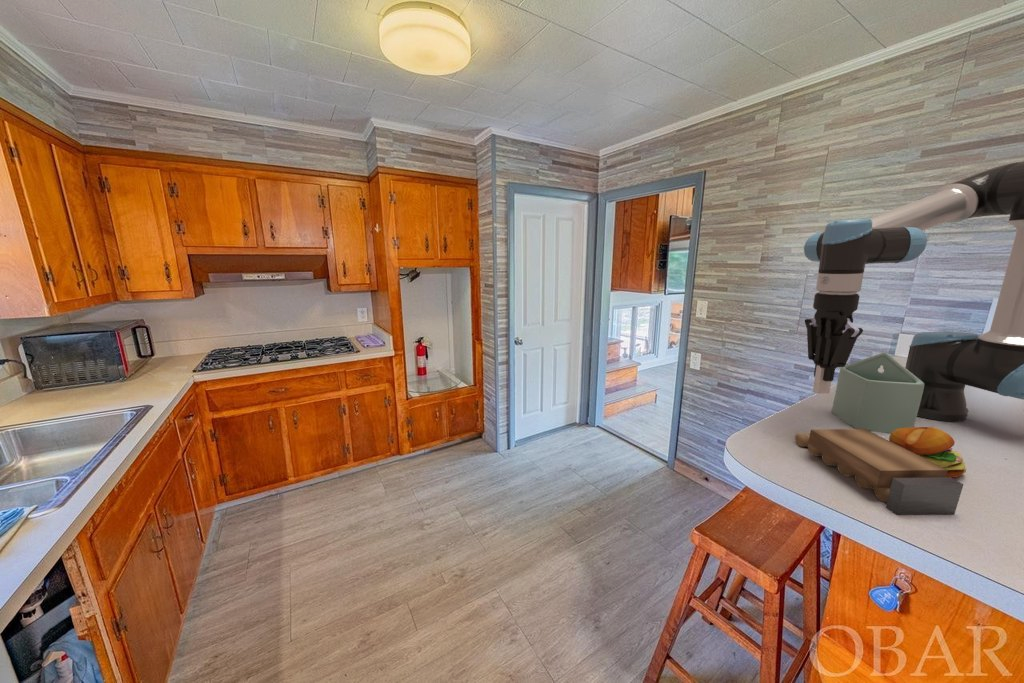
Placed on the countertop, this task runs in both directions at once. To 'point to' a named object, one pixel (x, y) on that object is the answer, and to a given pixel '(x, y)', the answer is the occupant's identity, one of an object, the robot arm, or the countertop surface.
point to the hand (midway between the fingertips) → (820, 392)
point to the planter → (877, 395)
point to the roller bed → (841, 467)
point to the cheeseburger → (931, 447)
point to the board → (872, 456)
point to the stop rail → (924, 496)
